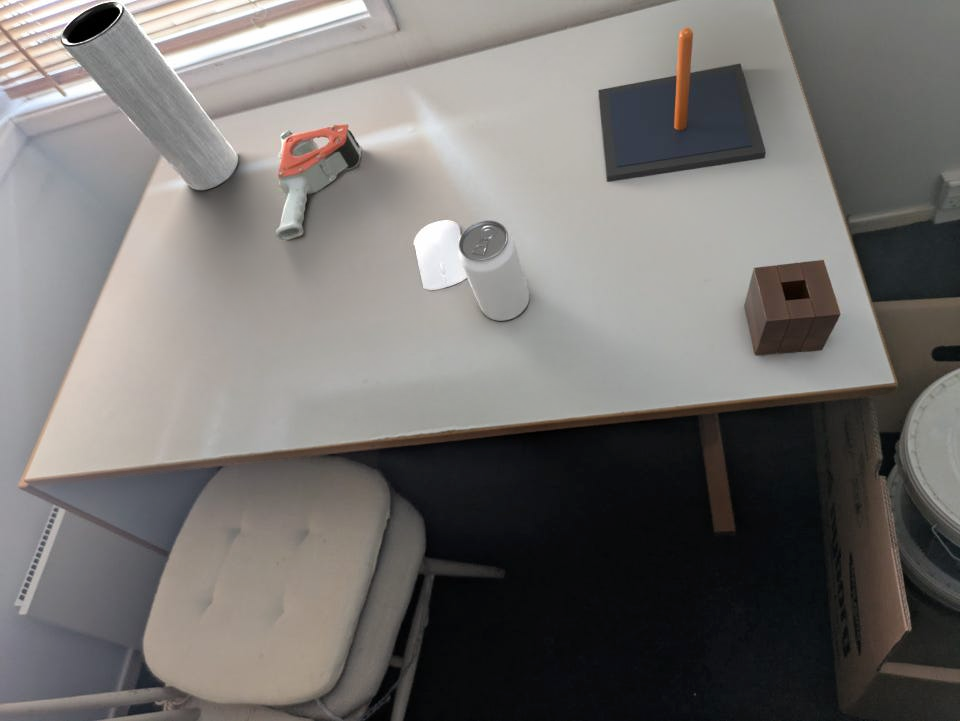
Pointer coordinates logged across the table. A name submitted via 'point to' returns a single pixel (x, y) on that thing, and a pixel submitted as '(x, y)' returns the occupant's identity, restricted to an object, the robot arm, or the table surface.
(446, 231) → the computer mouse
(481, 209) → the table surface
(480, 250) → the can
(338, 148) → the tape dispenser
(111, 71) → the vase
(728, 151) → the tablet
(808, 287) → the pen holder
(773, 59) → the table surface
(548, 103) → the table surface
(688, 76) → the stylus
